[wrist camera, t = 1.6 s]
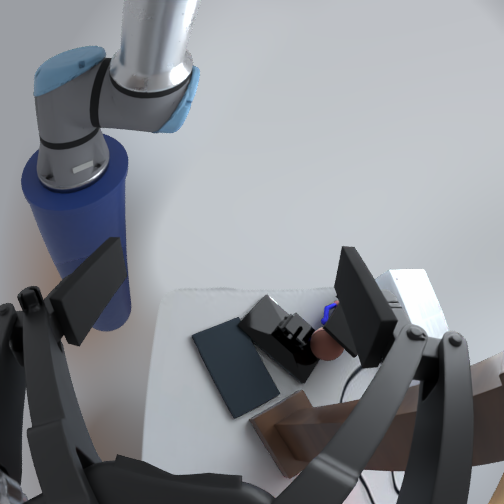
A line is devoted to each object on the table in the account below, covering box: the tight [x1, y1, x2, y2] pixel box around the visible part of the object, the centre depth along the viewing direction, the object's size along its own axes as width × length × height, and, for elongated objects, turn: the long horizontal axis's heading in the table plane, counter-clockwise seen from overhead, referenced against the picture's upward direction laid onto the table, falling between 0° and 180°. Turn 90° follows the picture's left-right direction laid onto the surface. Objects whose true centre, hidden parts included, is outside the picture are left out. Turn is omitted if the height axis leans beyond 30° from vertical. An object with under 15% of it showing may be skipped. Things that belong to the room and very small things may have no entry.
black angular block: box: [238, 295, 320, 384], centre depth 37 cm, size 12×7×5 cm, turn 51°
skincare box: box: [375, 269, 449, 387], centre depth 45 cm, size 21×5×16 cm
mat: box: [192, 317, 280, 418], centre depth 34 cm, size 12×7×1 cm, turn 29°
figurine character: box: [310, 296, 358, 361], centre depth 40 cm, size 7×8×15 cm
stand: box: [249, 351, 504, 479], centre depth 19 cm, size 8×10×31 cm
